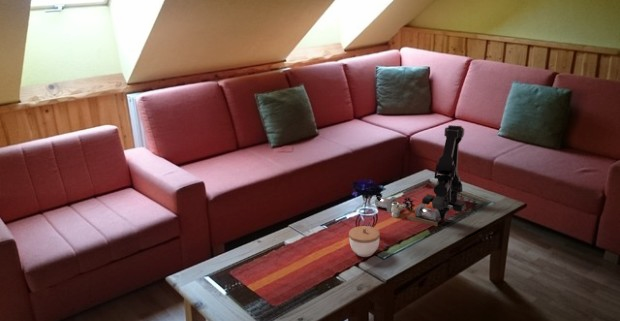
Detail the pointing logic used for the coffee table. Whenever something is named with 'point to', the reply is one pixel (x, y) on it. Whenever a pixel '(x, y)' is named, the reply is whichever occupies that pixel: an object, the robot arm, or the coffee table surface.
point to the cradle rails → (422, 220)
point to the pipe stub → (385, 203)
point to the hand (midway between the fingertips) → (443, 220)
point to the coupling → (427, 213)
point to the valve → (401, 207)
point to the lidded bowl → (364, 240)
